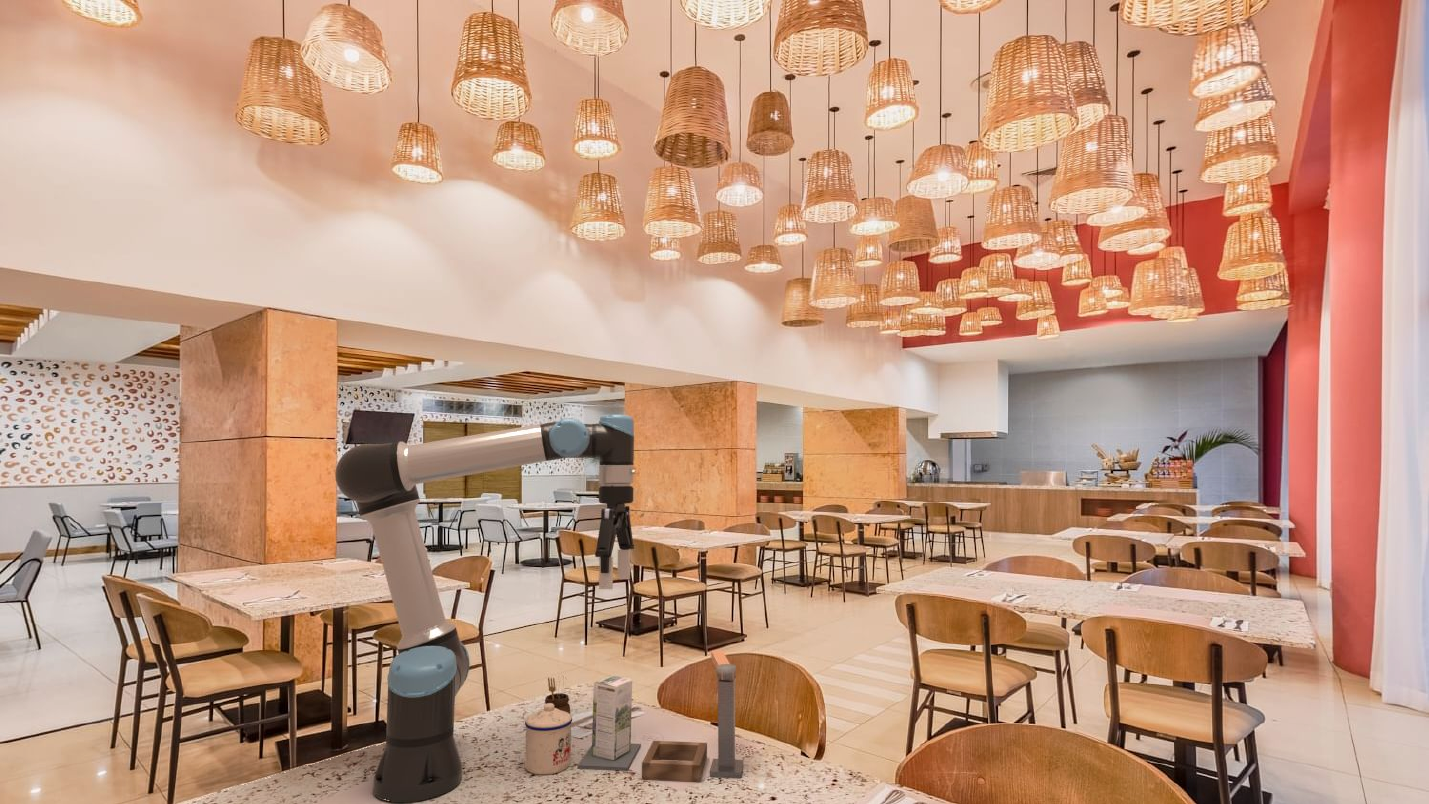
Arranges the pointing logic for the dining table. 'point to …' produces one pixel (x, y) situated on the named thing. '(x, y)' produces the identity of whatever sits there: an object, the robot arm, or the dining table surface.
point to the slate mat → (606, 764)
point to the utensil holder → (558, 697)
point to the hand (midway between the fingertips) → (615, 583)
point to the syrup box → (612, 717)
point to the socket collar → (675, 769)
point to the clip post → (726, 734)
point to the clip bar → (723, 666)
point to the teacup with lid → (548, 740)
